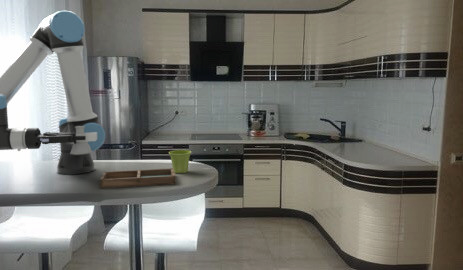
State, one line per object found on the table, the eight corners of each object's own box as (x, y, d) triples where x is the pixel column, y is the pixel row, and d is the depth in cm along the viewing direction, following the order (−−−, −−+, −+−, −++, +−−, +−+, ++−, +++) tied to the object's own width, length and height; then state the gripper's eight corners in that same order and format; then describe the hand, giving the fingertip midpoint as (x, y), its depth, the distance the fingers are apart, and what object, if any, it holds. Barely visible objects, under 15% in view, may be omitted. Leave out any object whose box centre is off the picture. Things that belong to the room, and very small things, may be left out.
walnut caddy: (104, 179, 150) (103, 171, 149) (173, 175, 156) (172, 168, 155) (100, 188, 136) (99, 180, 136) (175, 183, 142) (175, 176, 142)
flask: (84, 155, 135) (82, 127, 134) (66, 154, 137) (64, 127, 135) (95, 152, 142) (94, 125, 141) (78, 151, 144) (77, 125, 142)
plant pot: (182, 175, 156) (181, 154, 155) (164, 172, 161) (164, 152, 160) (195, 171, 164) (195, 151, 162) (179, 168, 169) (178, 149, 167)
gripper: (34, 145, 143) (99, 143, 148) (20, 152, 127) (93, 150, 132) (33, 125, 142) (98, 124, 147) (18, 130, 127) (92, 128, 131)
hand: (96, 136), depth 140 cm, fingers closed on flask, 3 cm apart
